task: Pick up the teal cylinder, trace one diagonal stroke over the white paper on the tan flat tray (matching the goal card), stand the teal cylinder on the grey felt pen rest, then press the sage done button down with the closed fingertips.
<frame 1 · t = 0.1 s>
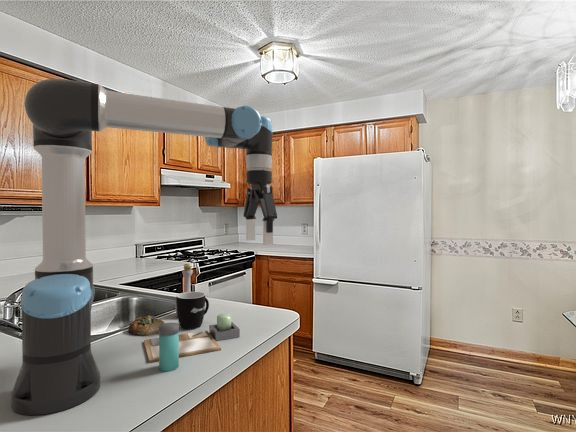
hand: (258, 242, 106), 28 cm above the countertop, fingers open, 13 cm apart
done button: (224, 322, 106), point 4 cm above the countertop, slide at 0.0 cm
tan flat tray: (181, 345, 98), on the countertop
teal cylinder: (169, 367, 85), on the countertop
bread roll: (147, 331, 111), on the countertop
potion bottle: (187, 315, 126), on the countertop
mug: (194, 325, 115), on the countertop
button housing: (224, 335, 106), on the countertop
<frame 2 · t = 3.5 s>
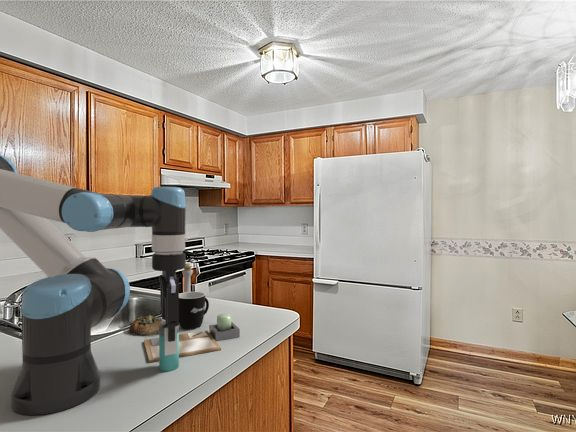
hand: (169, 349, 85), 4 cm above the countertop, fingers closed on teal cylinder, 4 cm apart
teal cylinder: (169, 367, 85), on the countertop, touching gripper
everything else where it was.
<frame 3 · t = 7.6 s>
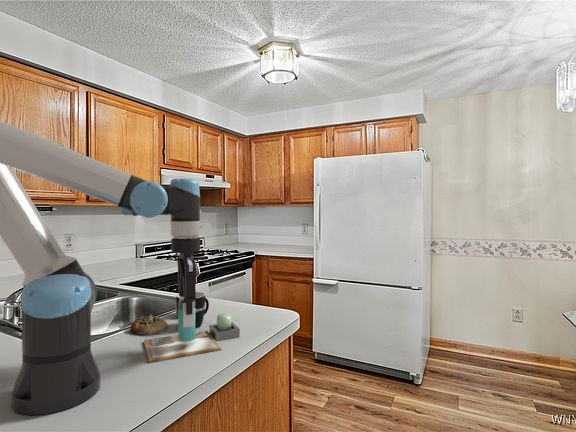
hand: (186, 323, 96), 7 cm above the countertop, fingers closed on teal cylinder, 4 cm apart
teal cylinder: (187, 338, 96), point 3 cm above the countertop, touching gripper
everything else where it was.
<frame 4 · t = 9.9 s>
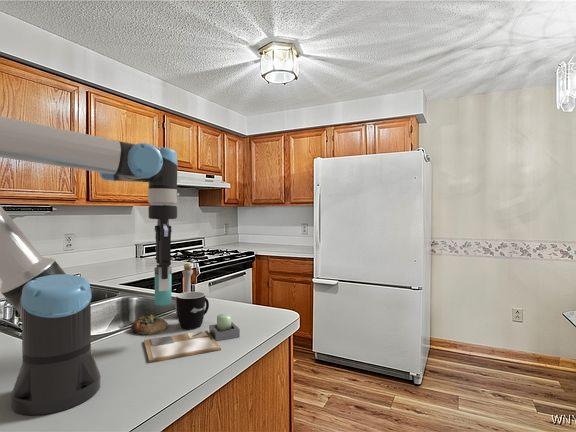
hand: (162, 288, 99), 16 cm above the countertop, fingers closed on teal cylinder, 4 cm apart
teal cylinder: (163, 303, 99), point 11 cm above the countertop, touching gripper
everything else where it was.
when the fingers open (6 cm above the countertop, at t = 11.9 s): teal cylinder stays where it is, resting on tan flat tray.
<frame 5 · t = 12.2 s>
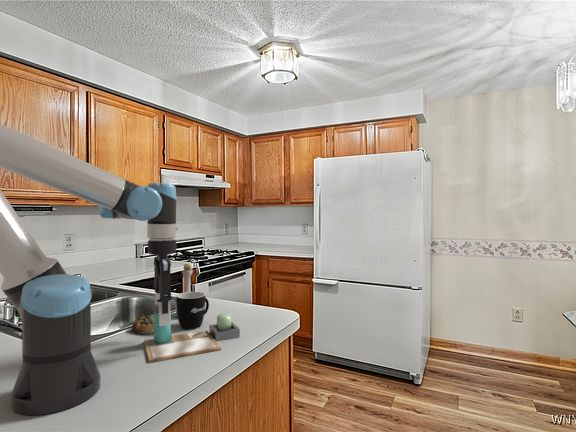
hand: (162, 320, 99), 7 cm above the countertop, fingers open, 8 cm apart
teal cylinder: (162, 340, 99), point 1 cm above the countertop, touching tan flat tray
everything else where it was.
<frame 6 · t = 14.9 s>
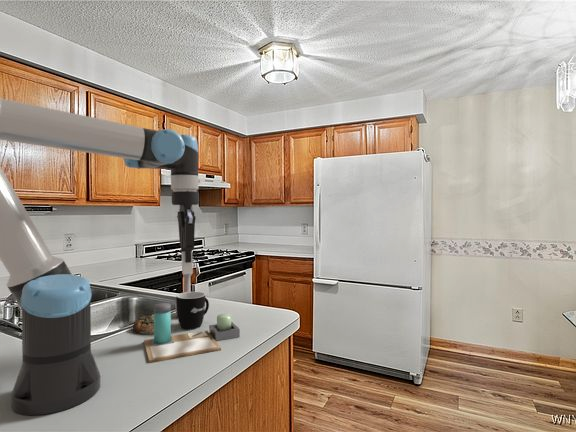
hand: (187, 273, 102), 19 cm above the countertop, fingers closed
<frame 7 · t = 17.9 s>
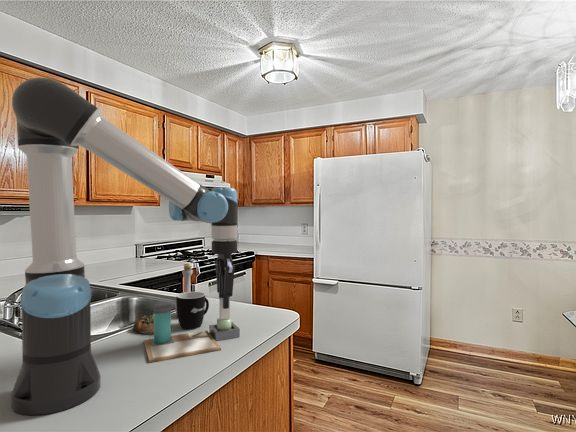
hand: (224, 318, 106), 5 cm above the countertop, fingers closed
done button: (224, 325, 106), point 3 cm above the countertop, slide at 1.0 cm, touching gripper
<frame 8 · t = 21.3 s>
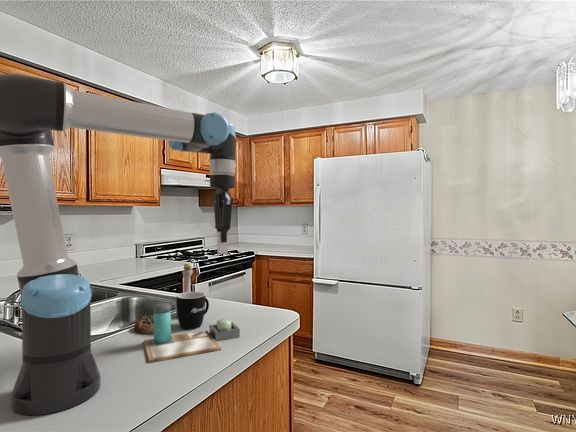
hand: (222, 252, 108), 24 cm above the countertop, fingers closed
done button: (224, 327, 106), point 2 cm above the countertop, slide at 1.5 cm
at the end: done button slide at 1.5 cm; teal cylinder inside the target area (0.1 cm from its centre), point 0.8 cm above the countertop; teal cylinder tilted 0° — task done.
